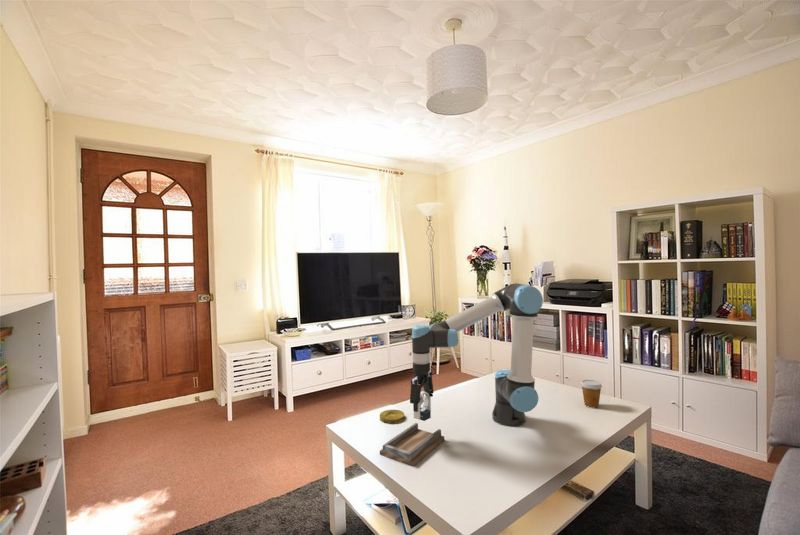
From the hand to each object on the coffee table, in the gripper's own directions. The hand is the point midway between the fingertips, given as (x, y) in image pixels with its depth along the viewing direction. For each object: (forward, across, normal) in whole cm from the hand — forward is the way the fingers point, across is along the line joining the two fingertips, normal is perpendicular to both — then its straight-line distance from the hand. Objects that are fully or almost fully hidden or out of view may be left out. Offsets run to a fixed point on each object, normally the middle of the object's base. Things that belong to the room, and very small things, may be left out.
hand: (422, 414), depth 161 cm
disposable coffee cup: (+10, -75, +54) cm, 93 cm away
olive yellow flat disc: (+11, -10, -24) cm, 28 cm away
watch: (+1, 0, 0) cm, 1 cm away
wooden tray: (+10, +8, 0) cm, 13 cm away
